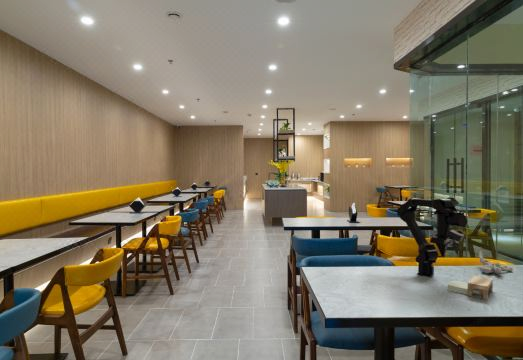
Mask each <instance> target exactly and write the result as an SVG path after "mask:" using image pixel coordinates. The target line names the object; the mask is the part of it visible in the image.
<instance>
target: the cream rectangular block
mask: <svg viewBox="0 0 523 360" xmlns="http://www.w3.org/2000/svg"><path fill="white" fill-rule="evenodd" d="M467 290H468V282H464V281H459V280H451V282H449V283H448V284H447V291H450V292H455V293H459V294H464V295H467ZM482 292H483V289H479V288H473V287H472V293H475V294H480V295H482Z"/></svg>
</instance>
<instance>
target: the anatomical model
mask: <svg viewBox="0 0 523 360" xmlns="http://www.w3.org/2000/svg"><path fill="white" fill-rule="evenodd" d="M485 258H486V255H484V252H483V251H479V252H478V259H479V263H481V264H482V265H481V266H480V270H481V271H483V273H484V274H490V273H491V274H493V273H495V274H500V273H501V272H503V271H506V272H509V271H510V272H512V273H513V268H512V267H508V266H507V265H502V264H501V263H499V262H498V261H497V262H495V263H494V262H492V261H489V259H485Z"/></svg>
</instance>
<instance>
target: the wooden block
mask: <svg viewBox="0 0 523 360" xmlns="http://www.w3.org/2000/svg"><path fill="white" fill-rule="evenodd" d="M493 282H494V279H493V278H492V277H491V278H490V277H485V276H479V275H473V276H472V277H471V278H470V279H469V281H468V282H467V283H468V290H467V294H466V295H467V297H474V298H478V299H479V298H480V299H482V300H486V301H488V299H489V293H490V292H491V293H493V291H494V289H493V288H494V287H493V286H494V285H493V284H494V283H493ZM472 287H473V288H479V289H483V292H482V295H480V294H475V293H472Z"/></svg>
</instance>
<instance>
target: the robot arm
mask: <svg viewBox="0 0 523 360" xmlns="http://www.w3.org/2000/svg"><path fill="white" fill-rule="evenodd" d="M418 207H426V208H432V209H433V210H435V211H434V212H433V215H436V226H435V229H436V234H435V235H434V236H432V237H430V239H429V242H428V240H427V239H426V237H425V235H424V233H423V232H422V230H421V228H420V226H419V223H418V222H417V221H416V214H415V212H416V211H417V209H418ZM396 213H397V216H398V218H399V219H400V220H402V221H403V223H406V226H407V227H408V230H409V231H410V233H411V235H412V237H413V239H414V241H415V242H416V244H417V246H418V247H417V249H418V250H417V253H418V255H417V256H416V257H415V258H414V259H415V262H416V263H418V264H417V265H418V266H417V273H416V274H417V275H418V276H419V275H420V276H424V277H430V278H432V277H433V276H434V275H435V266H434V264H436V263H437V262H436V261H437V259H438V258H439V253H440V255H441V257H445V256H446V252H447V250H448V246H449V245H451V244H452V243H453V241H456V242H458V243H460V242H462V241H463V238H465V234H464V231H463V230H461V229H459V230H453V227H459V228H465V227H466V226H467V224H468V218H467V216H466V215H465V212H464V211H463V212H462V211H461V212H459V211H458V209H457V208H456V207H455V205H454V203H453V201H452V200H451V199H450V198H436V199H424V198H417V197H413V198H412V197H410V198H408V200H407V201H406V202H403V204H401V205H400V206H399V207H398V208H397V210H396ZM450 240H452V241H450ZM435 245H436V246H435ZM436 247H437V248H436Z"/></svg>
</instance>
